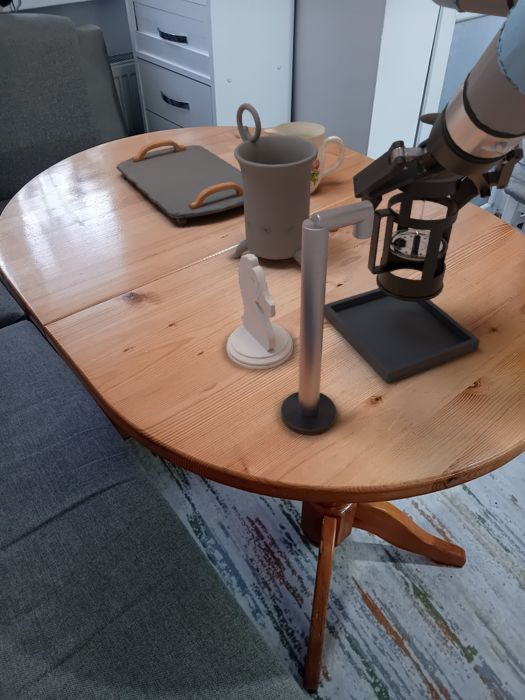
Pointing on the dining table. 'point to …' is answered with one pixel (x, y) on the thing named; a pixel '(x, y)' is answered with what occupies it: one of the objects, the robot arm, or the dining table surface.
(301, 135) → the pitcher
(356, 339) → the drip tray
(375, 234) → the french press
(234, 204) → the serving tray
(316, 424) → the tap
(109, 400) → the dining table surface
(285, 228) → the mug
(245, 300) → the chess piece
